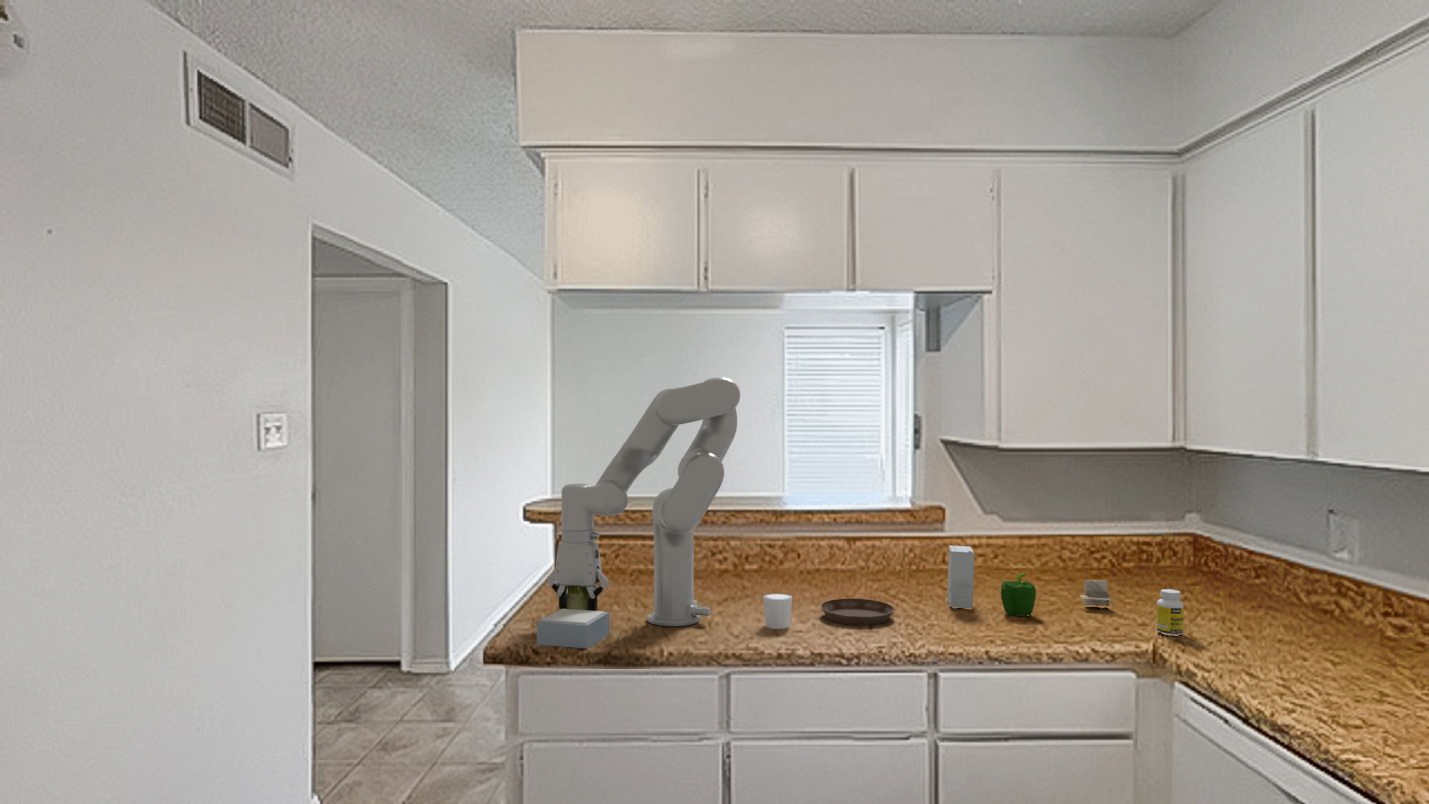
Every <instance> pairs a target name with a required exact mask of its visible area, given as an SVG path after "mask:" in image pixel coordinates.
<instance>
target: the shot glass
mask: <svg viewBox="0 0 1429 804" xmlns="http://www.w3.org/2000/svg"><path fill="white" fill-rule="evenodd" d="M762 598H763V599H762V600H763V610H764V611H763V613H764V619H765V620H764V621H765V627H766V628H769V629H772V630H782V629H784V630H785V629H788V628H790V626H791V618H792V617H791V616H792V606H793V605H792V604H793V595H790V594H787V593H767V594H764V595H763V596H762Z"/></svg>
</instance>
